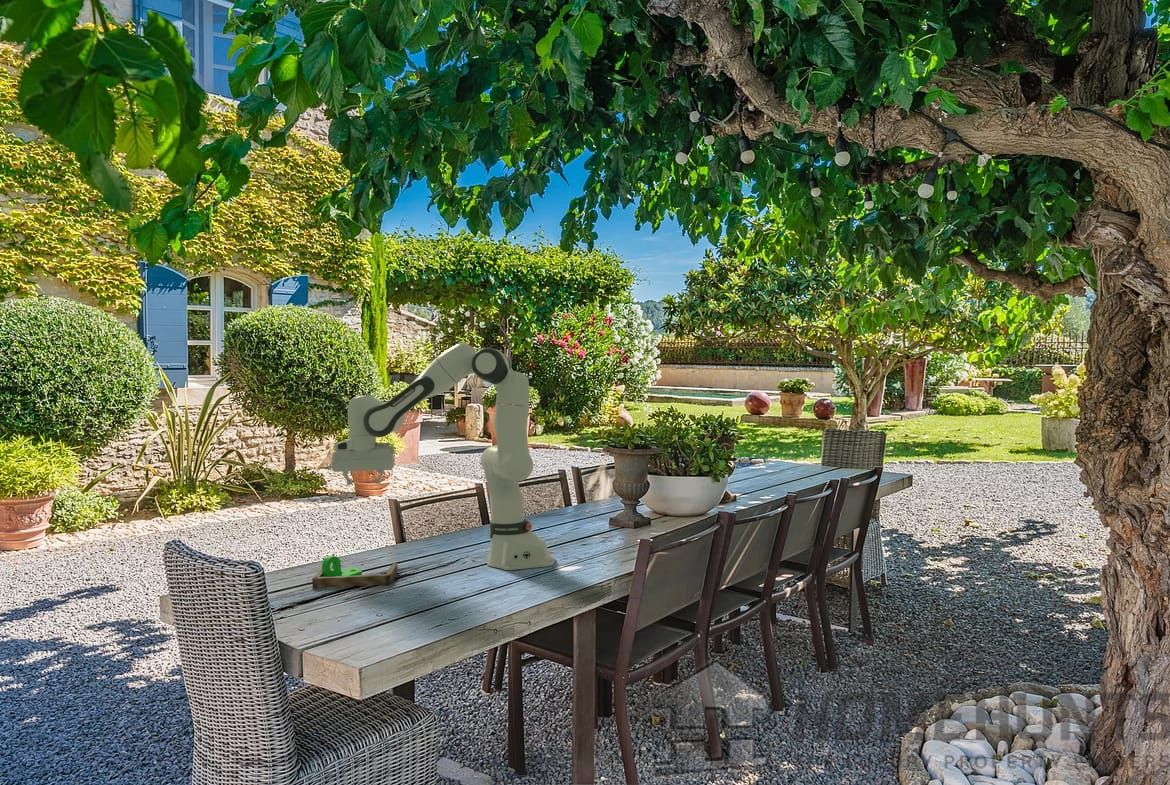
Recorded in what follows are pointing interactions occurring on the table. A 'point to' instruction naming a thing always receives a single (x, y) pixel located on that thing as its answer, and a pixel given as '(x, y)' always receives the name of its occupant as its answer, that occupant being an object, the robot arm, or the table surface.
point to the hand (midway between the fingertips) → (364, 484)
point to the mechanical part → (337, 568)
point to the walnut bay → (354, 579)
